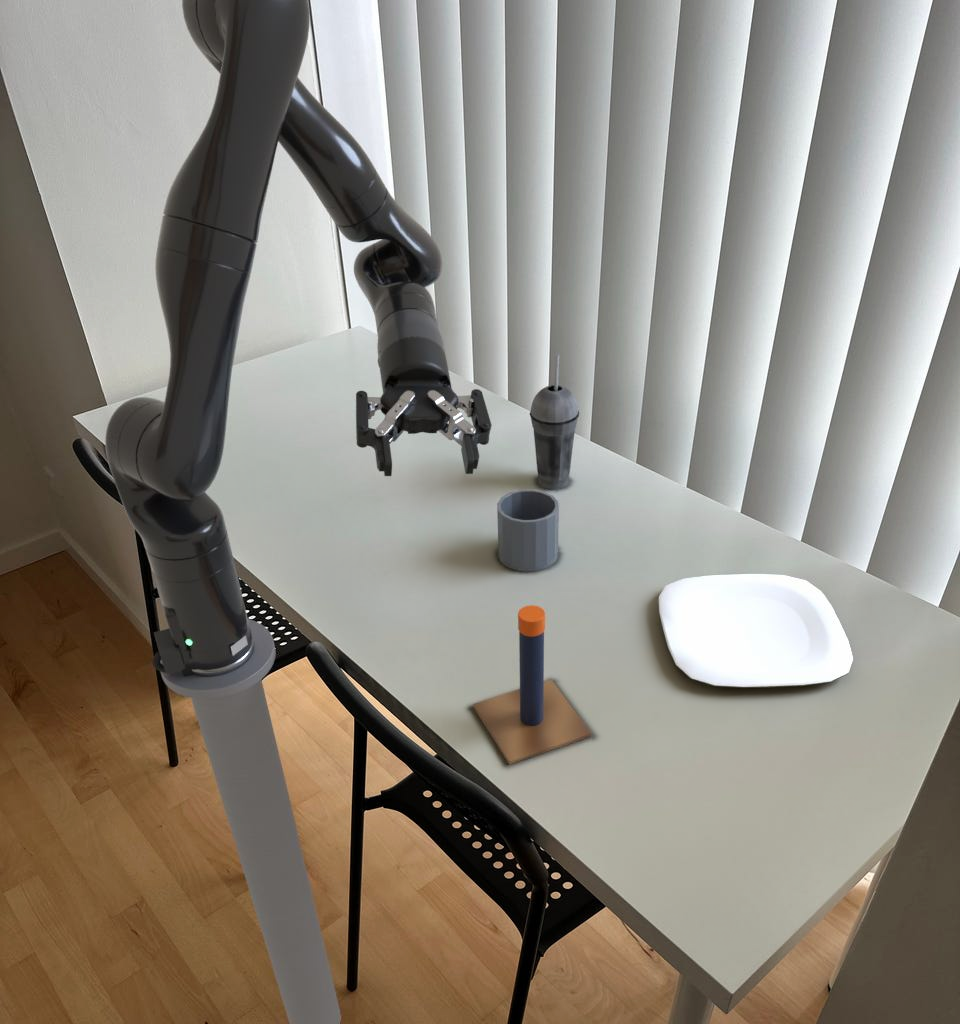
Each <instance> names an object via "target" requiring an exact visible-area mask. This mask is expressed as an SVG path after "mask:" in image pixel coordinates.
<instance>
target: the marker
mask: <svg viewBox="0 0 960 1024" xmlns="http://www.w3.org/2000/svg"><path fill="white" fill-rule="evenodd" d="M517 629H518V638H519V639H518V640H519V642H518V645H519V647H518V648H519V652H518V653H519V689H520V719H521V721H522V723H524V724H525V725H528V726H535V725H538V724H540V723H541V722H542V721H543V692H544V681H545V679H544V678H545V677H544V675H545V674H544V673H545V666H544V665H545V631H546V612H545V610H544V609H543V608H542V607H541V606H538V605H525V606H523V607H521V608H520V609H519V610H518V612H517Z"/></svg>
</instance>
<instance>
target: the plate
mask: <svg viewBox="0 0 960 1024" xmlns="http://www.w3.org/2000/svg"><path fill="white" fill-rule="evenodd" d="M658 611H659V612H658V614H659V618H660V623H661V627H662V632H663V635H664V638H665V642H666V647H667V649H668V651H669V653H670V656H671V658H672V660H673V662H674V664H675V666H676V667H677V668H678V669H679V670H680V671H681V672H682V673H683V674H684V675H686V677H687V678H689V679H690V680H692V681H694V682H699V683H702V684H705V685H709V686H711V687H718V688H734V689H735V688H738V689H752V688H753V689H756V688H758V689H761V688H764V689H765V688H787V687H788V688H789V687H805V686H813V685H821V684H828V683H831V682H832V683H833V682H834V681H837V680H838V679H841V678H843V677H845V676H847V675H849V672H850V670H851V666H852V663H853V661H854V656H853V653H852V649H851V645H850V642H849V641H850V640H849V639H848V637H847V635H846V633H845V630H844V628H843V626H842V624H841V622H840V619H839V618H838V616H837V614H836V612H835V609H834V607H833V606H832V604H831V602H829V600H828V598H827V597H826V596H825V594H824V593H823V591H821V589H818V588H817V587H816V586H814V584H812V583H810V582H809V581H808V580H806V579H802V578H798V577H794V576H789V575H786V574H772V573H741V574H739V573H738V574H737V573H735V574H716V575H715V574H713V575H703V576H692V577H686V578H681V579H679V580H676V581H673V582H671V583H668V584H666V585H665V586H664V587H663V589H662V591H661V592H660V594H659V596H658Z"/></svg>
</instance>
